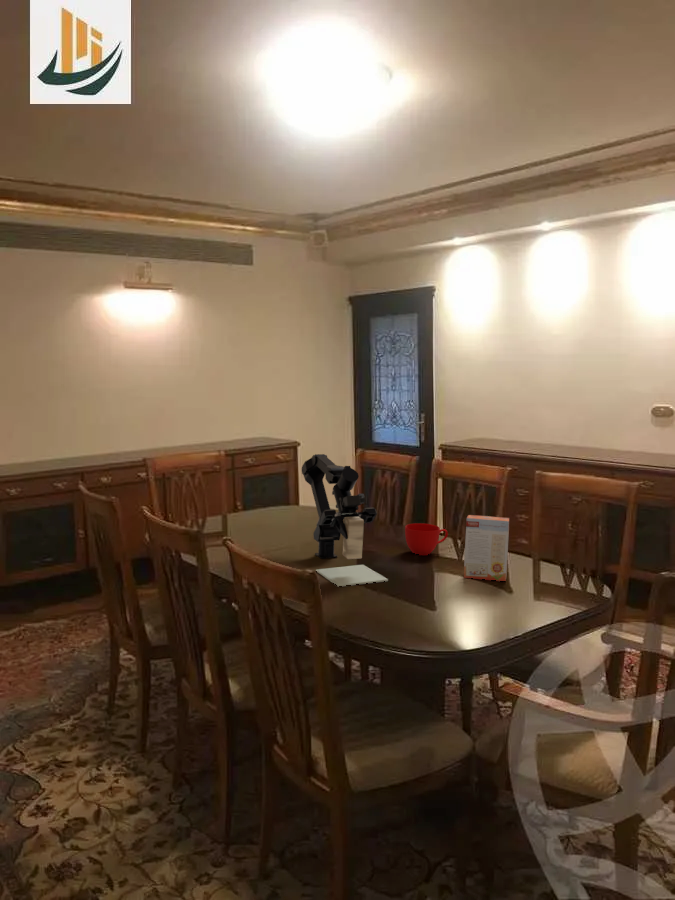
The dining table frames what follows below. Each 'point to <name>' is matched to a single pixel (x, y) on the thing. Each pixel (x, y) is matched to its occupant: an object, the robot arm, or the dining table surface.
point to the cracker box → (486, 547)
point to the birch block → (353, 537)
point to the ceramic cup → (423, 537)
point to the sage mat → (351, 575)
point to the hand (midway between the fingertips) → (354, 537)
